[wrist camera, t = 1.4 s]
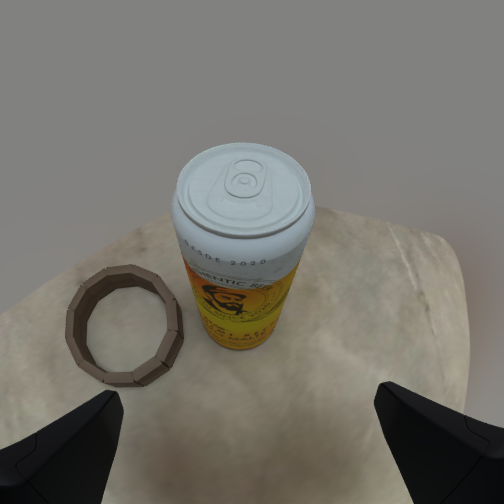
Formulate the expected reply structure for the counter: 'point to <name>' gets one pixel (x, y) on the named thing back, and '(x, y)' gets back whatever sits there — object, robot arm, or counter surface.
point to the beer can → (242, 236)
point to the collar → (84, 306)
